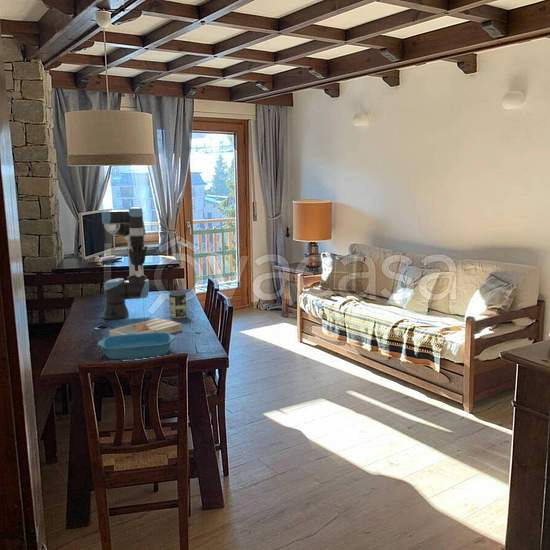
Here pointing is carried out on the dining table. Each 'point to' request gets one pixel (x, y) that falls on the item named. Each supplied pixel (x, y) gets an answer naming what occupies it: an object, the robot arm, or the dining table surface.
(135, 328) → the tile rear
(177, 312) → the coffee can
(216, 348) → the dining table surface
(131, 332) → the tile front
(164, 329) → the wavy grain square board
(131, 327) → the tray
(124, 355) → the casserole dish
